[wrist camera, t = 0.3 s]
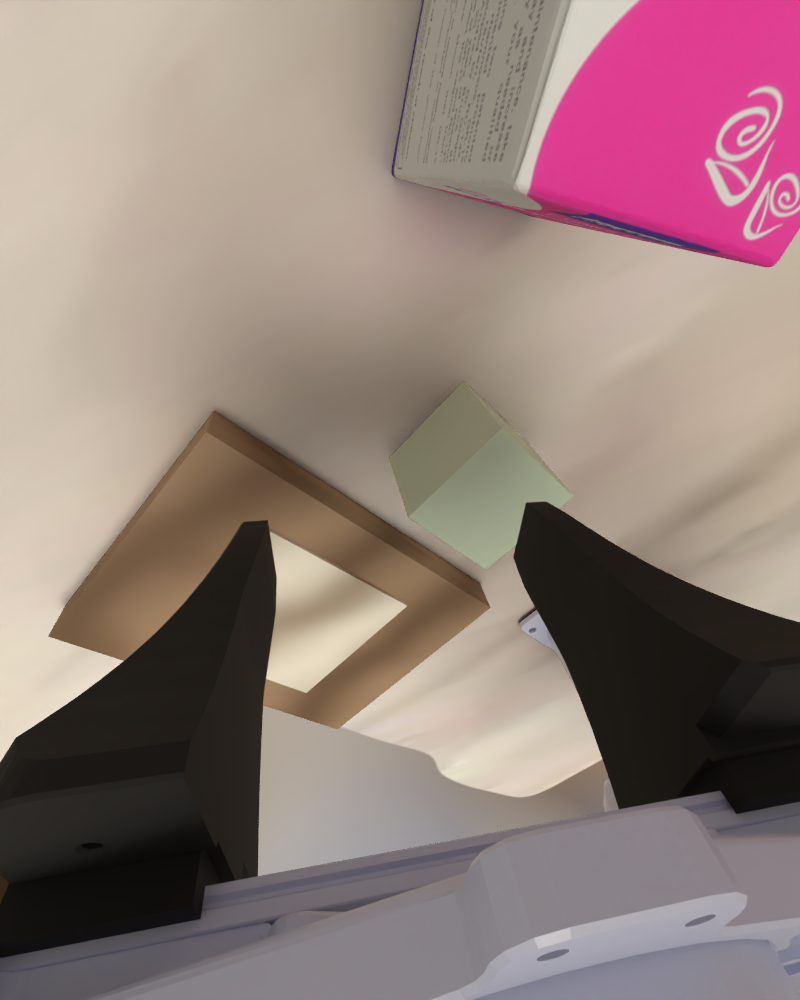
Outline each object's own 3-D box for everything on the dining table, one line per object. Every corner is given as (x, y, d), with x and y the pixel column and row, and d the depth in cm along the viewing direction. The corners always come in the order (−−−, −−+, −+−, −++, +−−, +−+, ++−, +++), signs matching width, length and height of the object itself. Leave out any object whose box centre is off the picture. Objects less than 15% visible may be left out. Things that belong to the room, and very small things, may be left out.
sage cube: (526, 441, 23) (573, 496, 19) (455, 506, 25) (485, 569, 21) (463, 380, 21) (502, 428, 17) (389, 456, 22) (408, 517, 18)
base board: (479, 583, 29) (491, 610, 27) (335, 702, 33) (337, 732, 31) (214, 411, 20) (205, 434, 18) (65, 605, 24) (46, 639, 22)
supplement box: (387, 184, 16) (502, 188, 7) (430, -62, 13) (748, -657, 4) (533, 226, 18) (786, 274, 8) (602, 14, 15) (1124, -274, 5)
